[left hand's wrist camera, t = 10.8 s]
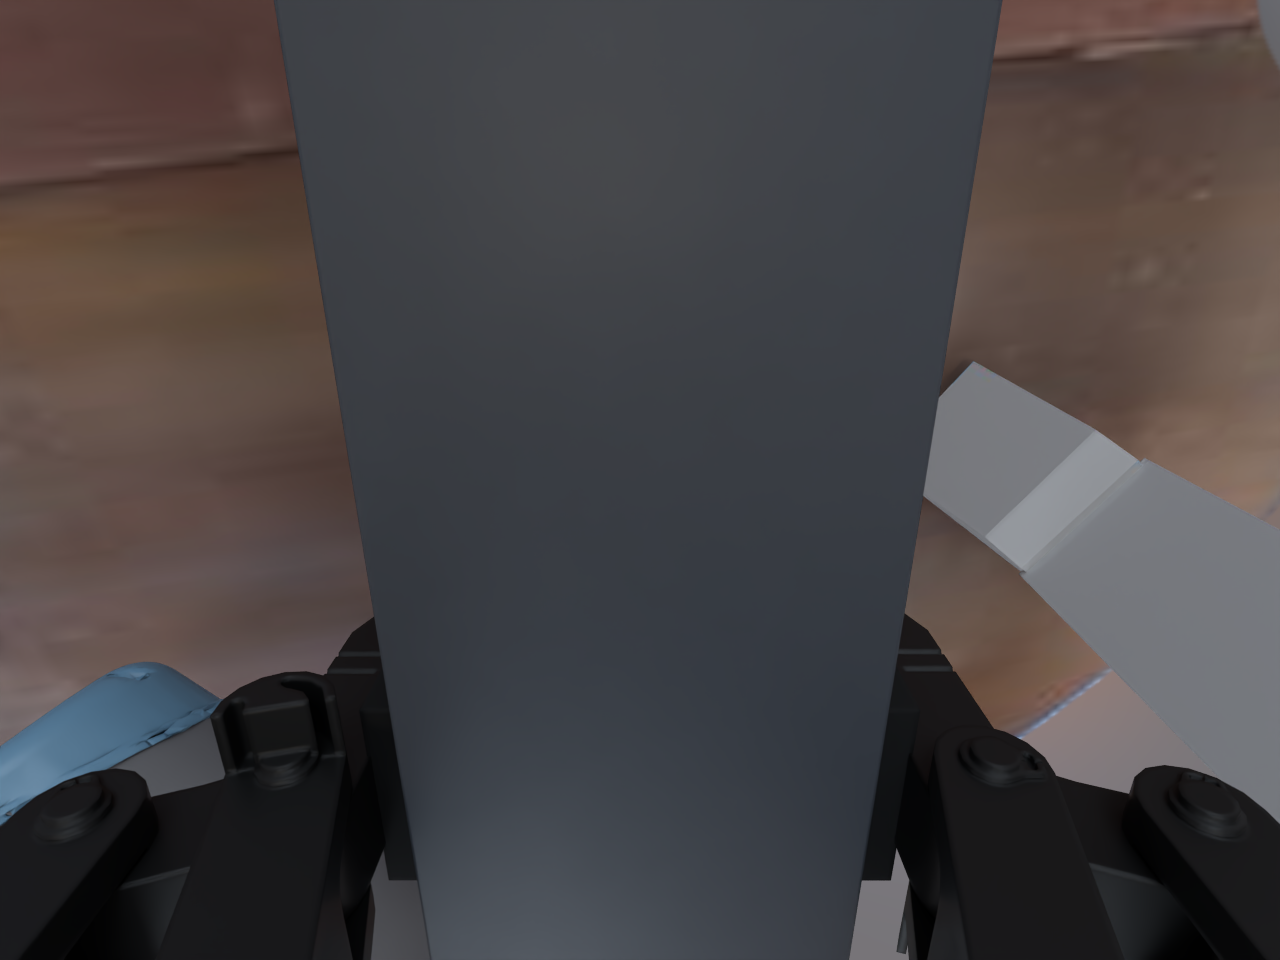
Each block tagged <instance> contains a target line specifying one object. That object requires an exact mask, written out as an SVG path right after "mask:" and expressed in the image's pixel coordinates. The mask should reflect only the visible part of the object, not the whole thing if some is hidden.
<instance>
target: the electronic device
mask: <svg viewBox="0 0 1280 960" xmlns="http://www.w3.org/2000/svg"><path fill="white" fill-rule="evenodd" d="M923 496H924V497H925V498H927V499H928V500H929V501H931V502H932V503H933V504H934V505H936V506H937V507H938V508H940V509H941V510H942V511H943V512H945V513H946V514H947V515H949V516H950V517H951V518H952V519H954V520H955V521H956V522H958V523H959V524H960V525H961V526H963V527H964V528H965V529H967V530H968V531H969V532H970V533H972V534H973V535H974V536H976V537H977V538H978V539H979V540H981V541H982V542H983V543H985V544H986V545H987V546H988V547H990V548H991V549H992V550H994V551H995V552H996V553H997V554H999V555H1000V556H1001V557H1003V558H1004V559H1005V560H1006V561H1008V562H1009V563H1010V564H1012V565H1013V566H1014V567H1016V568H1017V569H1018V570H1020V571H1021V572H1020V573H1019V575H1020V576H1021V577H1022V578H1023V579H1024V580H1025V581H1026V582H1027V583H1028V584H1029V585H1030V586H1031V587H1032V588H1033V589H1034V590H1035V591H1036V592H1037V593H1038V594H1039V595H1040V596H1041V597H1042V598H1043V599H1044V600H1045V601H1046V602H1047V603H1048V604H1049V605H1050V606H1051V607H1052V608H1053V609H1054V610H1055V611H1056V612H1057V613H1058V614H1059V615H1060V616H1061V618H1062V619H1063V620H1064V621H1065V622H1066V623H1067V624H1068V625H1069V626H1070V627H1071V628H1072V629H1073V630H1074V631H1075V632H1076V633H1077V634H1078V635H1079V636H1080V637H1081V638H1082V639H1083V640H1084V641H1085V642H1086V643H1087V644H1088V645H1089V646H1090V647H1091V648H1092V649H1093V650H1094V651H1095V652H1096V653H1097V654H1098V655H1099V656H1100V657H1101V658H1102V659H1103V660H1104V661H1105V662H1106V663H1107V664H1108V666H1109V667H1110V668H1111V669H1112V670H1113V671H1114V672H1115V673H1116V674H1117V675H1118V676H1119V677H1120V678H1121V679H1122V680H1123V681H1124V682H1125V683H1126V684H1127V685H1128V686H1129V687H1130V688H1131V689H1132V690H1133V691H1134V692H1135V693H1136V694H1137V695H1138V696H1139V697H1140V698H1141V699H1142V700H1143V701H1144V702H1145V703H1146V704H1147V705H1148V706H1149V707H1150V708H1151V709H1152V710H1153V711H1154V712H1155V713H1156V715H1157V716H1158V717H1160V719H1161V720H1162V721H1163V722H1164V723H1165V724H1166V725H1167V726H1168V727H1169V728H1170V729H1171V730H1172V731H1173V732H1174V733H1175V734H1176V735H1177V736H1178V737H1179V738H1180V739H1181V740H1182V741H1183V742H1184V743H1185V744H1186V745H1187V746H1188V747H1189V748H1190V749H1191V750H1192V751H1193V752H1194V753H1195V754H1196V755H1197V756H1198V757H1199V758H1200V759H1201V760H1202V761H1203V762H1204V763H1205V765H1206V766H1207V767H1208V768H1209V769H1210V770H1211V771H1212V772H1213V773H1214V774H1215V775H1216V776H1217V777H1218V778H1219V779H1220V780H1221V781H1223V782H1225V783H1227V784H1229V785H1231V786H1233V787H1234V788H1236V789H1238V790H1240V791H1242V792H1244V793H1245V794H1246V795H1247V796H1249V797H1250V798H1251V799H1253V800H1254V801H1255V802H1256V803H1258V804H1259V805H1260V806H1261V807H1263V808H1264V809H1265V810H1266V811H1267V812H1268V813H1269V814H1270V815H1271V816H1272V817H1273V818H1274V819H1275V820H1276V821H1277V822H1278V823H1280V530H1279V529H1277V528H1276V527H1274V526H1272V525H1270V524H1268V523H1266V522H1264V521H1262V520H1260V519H1259V518H1257V517H1255V516H1253V515H1251V514H1249V513H1247V512H1245V511H1244V510H1242V509H1240V508H1238V507H1236V506H1234V505H1232V504H1230V503H1228V502H1227V501H1225V500H1223V499H1221V498H1219V497H1217V496H1215V495H1213V494H1211V493H1210V492H1208V491H1206V490H1204V489H1202V488H1200V487H1198V486H1196V485H1194V484H1193V483H1191V482H1189V481H1187V480H1185V479H1183V478H1181V477H1179V476H1178V475H1176V474H1174V473H1172V472H1170V471H1168V470H1166V469H1164V468H1162V467H1161V466H1159V465H1157V464H1155V463H1153V462H1151V461H1149V460H1147V459H1145V458H1144V459H1143V460H1142V461H1141V462H1139V461H1138V460H1137V459H1136V458H1134V457H1133V456H1132V455H1130V454H1129V453H1127V452H1126V451H1125V450H1123V449H1122V448H1120V447H1119V446H1118V445H1116V444H1115V443H1113V442H1112V441H1111V440H1109V439H1108V438H1107V437H1105V436H1104V435H1102V434H1101V433H1100V432H1098V431H1097V430H1095V429H1093V428H1092V427H1090V426H1088V425H1086V424H1085V423H1083V422H1081V421H1079V420H1077V419H1076V418H1074V417H1072V416H1070V415H1068V414H1067V413H1065V412H1063V411H1061V410H1060V409H1058V408H1056V407H1054V406H1052V405H1051V404H1049V403H1047V402H1045V401H1043V400H1042V399H1040V398H1038V397H1036V396H1035V395H1033V394H1031V393H1029V392H1027V391H1026V390H1024V389H1022V388H1020V387H1019V386H1017V385H1015V384H1013V383H1011V382H1010V381H1008V380H1006V379H1004V378H1002V377H1001V376H999V375H997V374H995V373H994V372H992V371H990V370H988V369H986V368H985V367H983V366H981V365H979V364H977V363H976V362H974V361H973V362H972V363H971V364H970V365H969V366H968V367H967V368H966V369H965V371H964V372H963V373H962V374H961V375H960V376H959V377H958V378H957V379H956V380H955V381H954V382H953V383H952V384H951V385H950V387H949V388H948V389H947V390H946V391H945V392H944V393H943V394H942V395H941V396H940V397H939V400H938V406H937V412H936V419H935V425H934V431H933V437H932V444H931V450H930V456H929V462H928V469H927V475H926V481H925V487H924V494H923Z"/></svg>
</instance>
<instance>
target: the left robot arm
mask: <svg viewBox="0 0 1280 960" xmlns="http://www.w3.org/2000/svg"><path fill="white" fill-rule="evenodd" d="M952 668H953V667H952V666H951V664H950V663H949V661H948V660H947V658H946V657H945V655H944V654H941V649H940V648H939V646H938V645H937V643H936V642H935V640H934V639H933V637H932V636H931V634H930V633H929V631H928V630H927V629H925V628H924V627H923V626H921V625H920V624H918V623H917V622H916V621H914V620H913V619H912V618H910V617H909V616H907V615H906V614H905V613H904V619H903V625H902V631H901V637H900V644H899V650H898V656H897V662H896V669H895V675H894V681H893V687H892V694H891V700H890V706H889V713H888V719H887V725H886V731H885V738H884V744H883V750H882V756H881V763H880V769H879V775H878V781H877V788H876V794H875V800H874V806H873V813H872V819H871V825H870V831H869V838H868V844H867V850H866V856H865V863H864V869H863V875H862V880H891V876H892V871H893V865H894V859H895V854H896V848H897V850H898V852H899V855H900V857H901V860H902V862H903V865H904V868H905V870H906V873H907V875H908V878H909V885H908V890H907V896H906V901H905V906H904V912H903V917H902V922H901V928H900V933H899V939H898V945H897V952H899V953H903V954H906V950H907V945H908V953H909V960H1280V823H1278V822H1277V821H1276V820H1275V819H1274V818H1273V817H1272V816H1271V815H1270V814H1269V813H1268V812H1267V811H1266V810H1265V809H1264V808H1263V807H1261V806H1260V805H1259V804H1258V803H1256V802H1255V801H1254V800H1253V799H1251V798H1250V797H1249V796H1247V795H1246V794H1245V793H1244V792H1242V791H1240V790H1238V789H1236V788H1234V787H1233V786H1231V785H1229V784H1227V783H1225V782H1223V781H1221V780H1219V779H1218V778H1215V777H1212V776H1209V775H1207V774H1204V773H1201V772H1198V771H1195V770H1192V769H1189V768H1181V767H1174V766H1167V765H1162V766H1156V767H1149V768H1145V769H1144V770H1142V771H1141V772H1140V773H1139V774H1138V775H1136V776H1135V777H1134V781H1133V784H1132V787H1131V790H1130V793H1129V794H1127V793H1123V792H1119V791H1114V790H1110V789H1105V788H1101V787H1097V786H1092V785H1088V784H1084V783H1079V782H1075V781H1072V780H1068V779H1065V778H1062V777H1058V776H1056V775H1055V773H1054V771H1053V769H1052V768H1051V766H1050V765H1049V763H1048V762H1047V760H1046V759H1045V757H1044V756H1042V755H1041V754H1040V753H1039V752H1038V751H1036V750H1035V749H1034V748H1033V747H1032V746H1030V745H1029V744H1028V743H1026V742H1025V741H1023V740H1021V739H1019V738H1017V737H1015V736H1013V735H1011V734H1009V733H1007V732H1004V731H1000V730H997V729H994V728H993V727H992V725H991V724H990V722H989V721H988V719H987V718H986V716H985V715H984V713H983V712H982V710H981V709H980V707H979V706H978V704H977V703H976V701H975V700H974V698H973V697H972V695H971V694H970V693H969V691H968V690H967V688H966V687H965V685H964V684H963V682H962V681H961V679H960V678H959V676H958V675H957V673H956V672H953V669H952ZM0 960H430V957H429V951H428V944H427V938H426V932H425V926H424V920H423V914H422V907H421V901H420V895H419V889H418V883H417V877H416V871H415V864H414V858H413V852H412V846H411V840H410V834H409V828H408V821H407V815H406V809H405V803H404V797H403V791H402V785H401V778H400V772H399V766H398V760H397V754H396V748H395V741H394V735H393V729H392V723H391V717H390V711H389V705H388V698H387V692H386V686H385V680H384V674H383V668H382V662H381V655H380V649H379V643H378V637H377V631H376V625H375V618H374V617H373V618H371V619H370V620H369V621H367V622H366V623H365V624H363V625H362V626H360V627H359V628H358V629H356V630H355V631H354V632H352V634H351V635H350V637H349V638H348V640H347V641H346V643H345V644H344V646H343V647H342V649H341V650H340V652H339V656H338V657H336V658H335V659H334V661H333V662H332V664H331V665H330V667H329V668H328V672H327V674H324V676H323V675H319V674H315V673H311V672H307V671H305V672H284V673H280V674H276V675H272V676H267V677H263V678H260V679H258V680H256V681H254V682H251V683H249V684H247V685H245V686H243V687H240V688H239V689H237V690H236V691H234V692H233V693H232V694H230V695H229V696H228V697H226V698H225V699H219V698H218V697H216V696H215V695H213V694H212V693H210V692H209V691H207V690H205V689H204V688H202V687H201V686H199V685H198V684H196V683H195V682H193V681H192V680H190V679H188V678H187V677H185V676H184V675H182V674H181V673H179V672H178V671H176V670H175V669H173V668H171V667H169V666H167V665H163V664H160V663H155V662H139V663H133V664H129V665H126V666H123V667H120V668H118V669H115V670H113V671H111V672H109V673H108V674H106V675H104V676H102V677H101V678H99V679H97V680H96V681H94V682H93V683H91V684H90V685H88V686H86V687H85V688H83V689H82V690H80V691H79V692H77V693H76V694H74V695H73V696H71V697H70V698H68V699H67V700H65V701H64V702H62V703H61V704H59V705H58V706H57V707H55V708H54V709H52V710H51V711H49V712H48V713H46V714H45V715H44V716H42V717H41V718H39V719H38V720H36V721H35V722H34V723H32V724H31V725H29V726H28V727H27V728H25V729H24V730H22V731H21V732H20V733H18V734H17V735H15V736H14V737H13V738H11V739H10V740H8V741H7V742H6V743H4V744H3V745H2V746H0Z"/></svg>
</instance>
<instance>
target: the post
mask: <svg viewBox="0 0 1280 960" xmlns="http://www.w3.org/2000/svg"><path fill="white" fill-rule="evenodd" d="M274 4H275V10H276V16H277V22H278V28H279V34H280V40H281V47H282V53H283V59H284V65H285V71H286V77H287V84H288V90H289V96H290V102H291V108H292V114H293V120H294V127H295V133H296V139H297V145H298V151H299V157H300V163H301V170H302V176H303V182H304V188H305V194H306V200H307V207H308V213H309V219H310V225H311V231H312V237H313V243H314V250H315V256H316V262H317V268H318V274H319V280H320V286H321V293H322V299H323V305H324V311H325V317H326V323H327V329H328V336H329V342H330V348H331V354H332V360H333V366H334V373H335V379H336V385H337V391H338V397H339V403H340V409H341V416H342V422H343V428H344V434H345V440H346V446H347V452H348V459H349V465H350V471H351V477H352V483H353V489H354V496H355V502H356V508H357V514H358V520H359V526H360V532H361V539H362V545H363V551H364V557H365V563H366V569H367V575H368V582H369V588H370V594H371V600H372V606H373V612H374V618H375V625H376V631H377V637H378V643H379V649H380V655H381V662H382V668H383V674H384V680H385V686H386V692H387V698H388V705H389V711H390V717H391V723H392V729H393V735H394V741H395V748H396V754H397V760H398V766H399V772H400V778H401V785H402V791H403V797H404V803H405V809H406V815H407V821H408V828H409V834H410V840H411V846H412V852H413V858H414V864H415V871H416V877H417V883H418V889H419V895H420V901H421V907H422V914H423V920H424V926H425V932H426V938H427V944H428V951H429V957H430V960H849V956H850V950H851V944H852V938H853V931H854V925H855V919H856V913H857V906H858V900H859V894H860V888H861V881H862V875H863V869H864V863H865V856H866V850H867V844H868V838H869V831H870V825H871V819H872V813H873V806H874V800H875V794H876V788H877V781H878V775H879V769H880V763H881V756H882V750H883V744H884V738H885V731H886V725H887V719H888V713H889V706H890V700H891V694H892V687H893V681H894V675H895V669H896V662H897V656H898V650H899V644H900V637H901V631H902V625H903V619H904V612H905V606H906V600H907V594H908V587H909V581H910V575H911V569H912V562H913V556H914V550H915V544H916V537H917V531H918V525H919V519H920V512H921V506H922V500H923V494H924V487H925V481H926V475H927V469H928V462H929V456H930V450H931V444H932V437H933V431H934V425H935V419H936V412H937V406H938V400H939V394H940V387H941V381H942V375H943V368H944V362H945V356H946V350H947V343H948V337H949V331H950V325H951V318H952V312H953V306H954V300H955V293H956V287H957V281H958V275H959V268H960V262H961V256H962V250H963V243H964V237H965V231H966V225H967V218H968V212H969V206H970V200H971V193H972V187H973V181H974V175H975V168H976V162H977V156H978V150H979V143H980V137H981V131H982V125H983V118H984V112H985V106H986V100H987V93H988V87H989V81H990V75H991V68H992V62H993V56H994V50H995V43H996V37H997V31H998V24H999V18H1000V12H1001V6H1002V0H274Z"/></svg>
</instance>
